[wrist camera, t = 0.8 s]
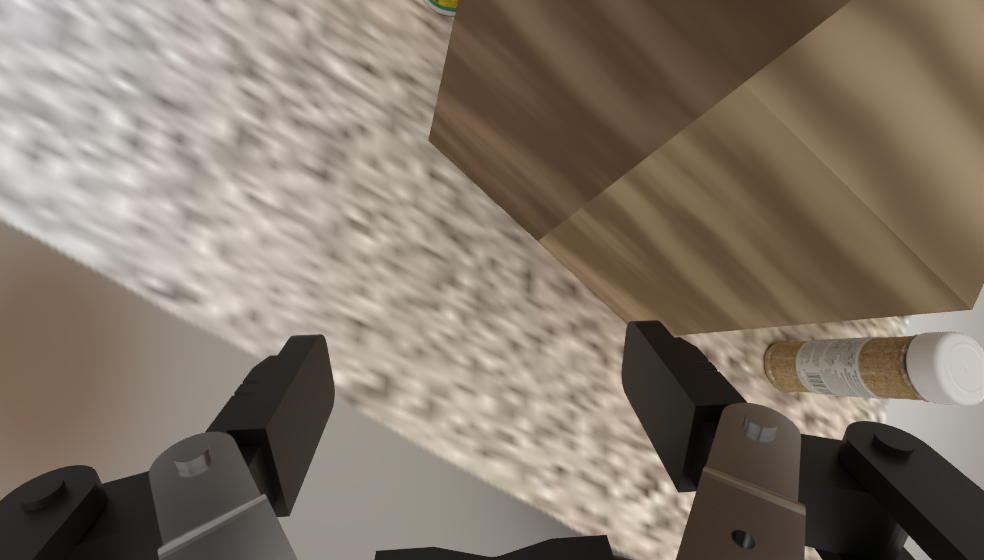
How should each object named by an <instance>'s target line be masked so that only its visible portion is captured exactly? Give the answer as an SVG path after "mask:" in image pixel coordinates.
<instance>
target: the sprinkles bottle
mask: <svg viewBox="0 0 984 560" xmlns="http://www.w3.org/2000/svg"><path fill="white" fill-rule="evenodd" d="M764 362H765V363H764V367H765V372H766V375H767V377H768V379H769V380H770V382H771V383H772V384H773V385H774V386H775V387H776V388H778V389H779V390H781V391H786V392H796V391H798V392H813V393H816V394H824V395H837V396H850V397H864V398H878V399H887V398H896V399H912V400H923V401H926V402H932V403H935V404H942V405H943V404H944V405H959V406H970V405H975V404H977V403H979V402H981V401H982V400H983V399H984V351H983V349H982V348H981V346H980V345H979V344H978V343H977V342H976V341H975V340H974V339H972V338H971V337H970V336H968V335H966V334H963V333H960V332H932V333H923V334H920V335H915V336H907V337H905V336H904V337H887V338H885V337H883V338H879V337H866V338H848V339H827V340H812V341H803V342H788V341H782V342H776V343H775V344H773V345H772V346H771V347H770V348H769V349H768V351H767V353H766V355H765V360H764Z"/></svg>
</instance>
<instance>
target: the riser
mask: <svg viewBox="0 0 984 560" xmlns="http://www.w3.org/2000/svg"><path fill="white" fill-rule="evenodd" d="M429 141H430V142H431V143H432V144H433V145H434V146H435V147H436V148H437V149H439V150H440V151H441V152H442V153H443V154H444V155H445V156H446V157H447V158H448V159H449V160H450V161H452V162H453V163H454V164H455V165H456V166H457V167H458V168H459V169H460V170H461V171H462V172H463V173H465V174H466V175H467V176H468V177H469V178H470V179H471V180H472V181H473V182H474V183H475V184H476V185H478V186H479V187H480V188H481V189H482V190H483V191H484V192H485V193H486V194H487V195H488V196H489V197H491V198H492V199H493V200H494V201H495V202H496V203H497V204H498V205H499V206H500V207H501V208H502V209H504V210H505V211H506V212H507V213H508V214H509V215H510V216H511V217H512V218H513V219H514V220H515V221H517V222H518V223H519V224H520V225H521V226H522V227H523V228H524V229H525V230H526V231H527V232H528V233H530V234H531V235H532V236H533V237H534V238H535V239H536V240H537V241H538V242H539V243H540V244H542V245H543V246H544V247H545V248H546V249H547V250H548V251H549V252H550V253H551V254H552V255H553V256H555V257H556V258H557V259H558V260H559V261H560V262H561V263H562V264H563V265H564V266H565V267H566V268H568V269H569V270H570V271H571V272H572V273H573V274H574V275H575V276H576V277H577V278H578V279H579V280H581V281H582V282H583V283H584V284H585V285H586V286H587V287H588V288H589V289H590V290H591V291H592V292H594V293H595V294H596V295H597V296H598V297H599V298H600V299H601V300H602V301H603V302H604V303H605V304H607V305H608V306H609V307H610V308H611V309H612V310H613V311H614V312H615V313H616V314H617V315H618V316H620V317H621V318H622V319H623V320H624V321H625V322H626V323H627V324H628V323H629V322H630V321H648V320H659V321H660V322H661V323H662V324H663V325H664V326H665V327H666V329H667V330H668V331H669V332H670V333H671V334H672V336H674V335H686V334H697V333H709V332H721V331H732V330H744V329H755V328H767V327H778V326H790V325H801V324H813V323H824V322H836V321H847V320H859V319H870V318H882V317H893V316H905V315H916V314H927V313H940V312H951V311H962V310H972V309H973V306H974V304H975V302H976V300H977V298H978V295H979V293H980V291H981V288H982V286H983V284H984V0H458V3H457V8H456V13H455V18H454V22H453V27H452V32H451V37H450V41H449V46H448V51H447V56H446V60H445V65H444V70H443V75H442V79H441V84H440V89H439V93H438V98H437V103H436V108H435V112H434V117H433V122H432V127H431V131H430V136H429Z"/></svg>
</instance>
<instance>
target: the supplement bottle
mask: <svg viewBox="0 0 984 560" xmlns="http://www.w3.org/2000/svg"><path fill="white" fill-rule="evenodd" d="M424 1H425V2H426V3H427V4H428V6H429V7H431V8H432V9H433V10H435V11H436V12H438V13H440V14H443V15H447V16H455V13H456V8H457V3H458V0H424Z"/></svg>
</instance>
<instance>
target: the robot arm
mask: <svg viewBox="0 0 984 560" xmlns="http://www.w3.org/2000/svg"><path fill="white" fill-rule="evenodd" d="M622 384H623V388H624V392H625V394H626V396H627V398H628V400H629V402H630V404H631V405H632V407H633V409H634V411H635V413H636V415H637V417H638V418H639V420H640V422H641V424H642V426H643V428H644V430H645V431H646V433H647V435H648V437H649V439H650V441H651V443H652V444H653V446H654V448H655V450H656V452H657V454H658V456H659V458H660V459H661V461H662V463H663V465H664V467H665V469H666V471H667V472H668V474H669V476H670V478H671V480H672V482H673V484H674V485H675V487H676V489H677V491H678V492H693V491H696V495H695V498H694V501H693V505H692V508H691V511H690V515H689V518H688V521H687V525H686V528H685V531H684V535H683V538H682V541H681V545H680V548H679V551H678V554H677V558H676V560H804V552H805V546H808V547H813V548H815V550H816V551H817V553H818V554H819V555H820V557H821V558H822V560H915V559H914V558H913V557H912V556H911V554H910V553H909V552H908V551H907V550H906V549H905V548H904V547H903V546H904V544H905V542H906V539H907V537H908V536H910V537H911V538H912V539H913V540H914V541H915V542H916V543H917V544H918V545H919V546H920V548H921V549H922V550H923V551H924V552H925V553H926V554H927V555H928V556H929V557H930V558H931V559H932V560H984V491H983V490H982V489H981V488H980V487H979V486H977V485H976V484H975V483H973V481H971V480H970V479H969V478H967V477H966V476H965V475H964V474H963V473H961V472H960V471H959V470H958V469H957V468H955V467H954V466H953V465H952V464H951V463H949V462H948V461H947V460H946V459H944V458H943V457H942V456H941V455H940V454H938V453H937V452H936V451H935V450H933V449H932V448H931V447H929V446H928V445H927V444H926V443H924V442H923V441H922V440H920V439H918V438H917V437H915V436H913V435H911V434H909V433H907V432H905V431H903V430H901V429H898V428H895V427H893V426H889V425H886V424H882V423H877V422H870V421H860V422H854V423H852V424H850V425H849V426H848V427H847V429H846V431H845V434H844V437H843V439H842V441H841V440H835V439H829V438H823V437H817V436H811V435H805V434H800V432H799V430H798V428H797V427H796V425H795V424H794V423H793V422H792V421H791V420H789V419H788V418H787V417H785V416H784V415H782V414H781V413H779V412H777V411H775V410H773V409H770V408H768V407H765V406H762V405H758V404H752V403H747V402H746V400H745V399H744V398H743V397H742V396H741V395H740V394H739V393H738V392H737V391H736V389H735V388H734V387H733V386H732V385H731V384H730V383H729V382H728V381H727V380H726V378H725V377H724V376H723V375H722V374H721V373H720V372H717V369H716V367H715V366H714V365H713V364H712V363H711V362H708V359H707V358H706V356H705V355H704V354H703V353H702V352H701V351H700V350H699V349H698V348H697V347H696V346H694V345H692V344H691V343H689V342H687V341H686V340H684V339H682V338H680V337H676V338H674V337H673V336H672V334H671V333H670V332H669V331H668V330H667V329H666V327H665V326H664V325H663V324H662V323H661V322H660V321H659V320H648V321H630V322H629V323H628V325H627V329H626V337H625V346H624V354H623V363H622ZM334 396H335V388H334V381H333V375H332V370H331V365H330V359H329V354H328V348H327V343H326V339H325V337H324V336H323V335H322V334H319V335H297V336H291V337H290V338H289V340H288V341H287V343H286V344H285V346H284V347H283V348H282V350H281V351H280V353H279V354H278V355H275V356H269V357H268V358H266V359H265V360H263V361H262V362H261V363H259V364H258V365H256V366H255V367H254V368H253V369H252V370H251V371H250V373H249V374H248V375H247V377H246V378H245V379H244V381H243V384H241V385H240V386H239V388H238V389H237V390H236V391H235V395H234V396H232V397H231V398H230V400H229V401H228V402H227V404H226V405H225V406H224V408H223V409H222V410H221V412H220V413H219V414H218V416H217V417H216V419H215V420H214V421H213V422H212V424H211V425H210V427H209V428H208V429H207V431H206V432H205V433H201V434H197V435H194V436H191V437H189V438H186V439H184V440H182V441H179V442H178V443H176V444H174V445H172V446H171V447H169V448H168V449H167V450H165V451H164V452H163V453H162V454H161V455H160V456H159V457H158V458H157V459H156V460H155V461H154V462H153V464H152V466H151V468H150V470H149V471H148V472H144V473H141V474H137V475H133V476H129V477H126V478H122V479H118V480H115V481H111V482H108V483H104V484H102V483H101V481H100V479H99V476H98V474H97V472H96V471H95V469H93V468H92V467H89V466H84V465H76V466H68V467H64V468H59V469H56V470H53V471H50V472H47V473H45V474H42V475H40V476H38V477H36V478H34V479H32V480H30V481H28V482H26V483H24V484H23V485H21V486H20V487H18V488H16V489H15V490H13V491H12V492H11V493H9V494H8V495H6V496H5V497H4V498H3V499H2V500H1V501H0V560H297V558H296V556H295V554H294V551H293V549H292V548H291V545H290V543H289V541H288V539H287V537H286V535H285V533H284V531H283V529H282V527H281V525H280V523H279V521H278V519H277V517H286V516H290V513H291V511H292V508H293V506H294V503H295V501H296V498H297V496H298V493H299V491H300V488H301V486H302V483H303V481H304V478H305V476H306V473H307V471H308V468H309V466H310V463H311V461H312V458H313V456H314V453H315V451H316V448H317V446H318V443H319V441H320V438H321V436H322V433H323V431H324V428H325V426H326V423H327V421H328V418H329V416H330V413H331V411H332V408H333V404H334ZM375 560H631V559H628V558H625V557H621V556H616V555H613V553H612V550H611V547H610V544H609V541H608V538H607V535H599V536H584V537H570V538H556V539H549V540H546V541H543V542H540V543H537V544H534V545H531V546H528V547H525V548H522V549H519V550H516V551H513V552H510V553H507V554H504V555H501V556H498V557H486V556H481V555H475V554H469V553H464V552H458V551H453V550H448V549H442V548H437V547H426V548H412V549H398V550H383V551H376V555H375Z"/></svg>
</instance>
